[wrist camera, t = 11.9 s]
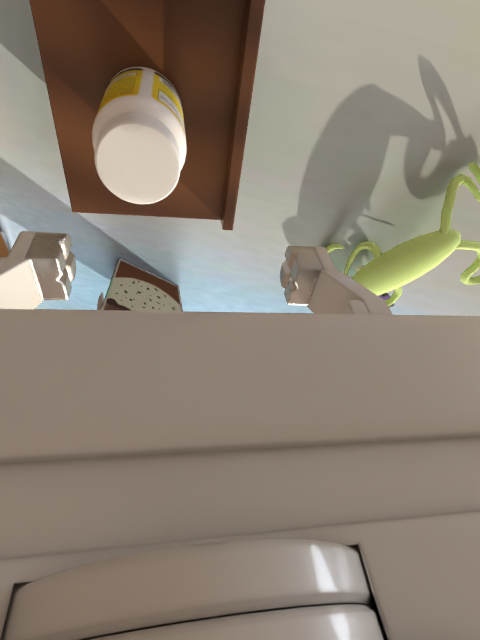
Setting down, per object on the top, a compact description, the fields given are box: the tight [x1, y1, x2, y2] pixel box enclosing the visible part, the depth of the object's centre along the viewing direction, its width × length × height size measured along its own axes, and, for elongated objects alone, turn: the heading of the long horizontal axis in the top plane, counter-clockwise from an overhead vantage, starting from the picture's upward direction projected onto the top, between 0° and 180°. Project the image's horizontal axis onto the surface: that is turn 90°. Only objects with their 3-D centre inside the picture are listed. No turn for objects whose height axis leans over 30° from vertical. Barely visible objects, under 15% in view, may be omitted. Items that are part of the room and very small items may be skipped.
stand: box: [30, 0, 265, 231], centre depth 28 cm, size 16×12×18 cm
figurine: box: [326, 162, 480, 308], centre depth 54 cm, size 18×27×6 cm
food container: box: [97, 259, 183, 312], centre depth 50 cm, size 12×6×10 cm, turn 51°
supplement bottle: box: [92, 67, 187, 204], centre depth 20 cm, size 5×5×8 cm
